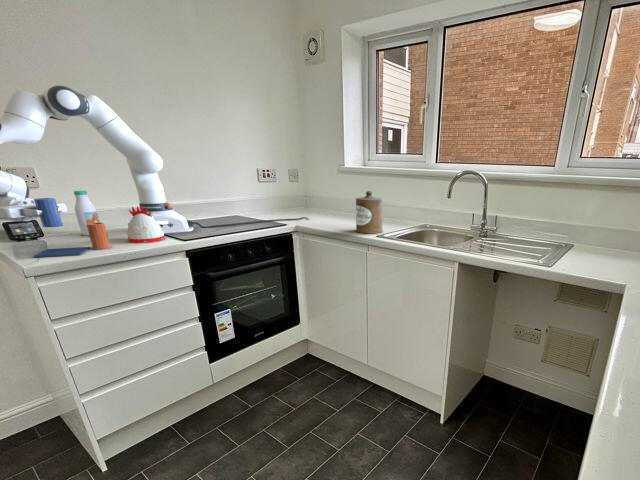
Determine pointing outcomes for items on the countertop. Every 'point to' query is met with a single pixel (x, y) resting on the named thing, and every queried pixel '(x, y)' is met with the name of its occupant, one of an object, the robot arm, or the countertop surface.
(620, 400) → the countertop surface
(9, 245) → the countertop surface
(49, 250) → the blue mat
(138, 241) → the white crested dome
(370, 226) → the wooden container
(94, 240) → the terracotta cup
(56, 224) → the blue cup
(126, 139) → the robot arm
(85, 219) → the milk bottle
